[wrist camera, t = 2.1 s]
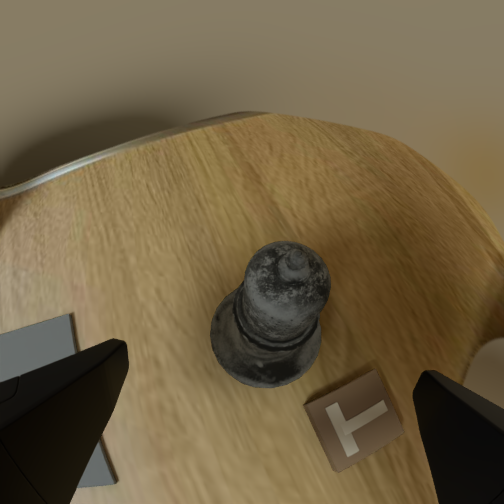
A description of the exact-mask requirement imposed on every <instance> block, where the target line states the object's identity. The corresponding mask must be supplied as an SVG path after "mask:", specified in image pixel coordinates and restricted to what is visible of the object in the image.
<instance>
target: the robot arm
mask: <svg viewBox="0 0 504 504" xmlns="http://www.w3.org/2000/svg"><path fill="white" fill-rule="evenodd" d="M128 369H129V360H128V350H127V344H126V342H125V341H123V340H119V339H114V338H113V339H110V340H107V341H105V342H102V343H100V344H98V345H95V346H93V347H90V348H88V349H85V350H83V351H80V352H78V353H75V354H73V355H70V356H68V357H65V358H63V359H60V360H58V361H55V362H52V363H50V364H47V365H45V366H42V367H40V368H37V369H34V370H32V371H29V372H27V373H24V374H21V375H20V376H16V377H13V378H11V379H8V380H5V381H2V382H0V504H70V502H71V500H72V498H73V495H74V493H75V491H76V489H77V486H78V484H79V482H80V480H81V478H82V475H83V473H84V471H85V469H86V467H87V465H88V462H89V460H90V458H91V456H92V454H93V452H94V450H95V448H96V446H97V444H98V442H99V439H100V437H101V435H102V433H103V431H104V429H105V427H106V425H107V423H108V421H109V419H110V417H111V415H112V413H113V411H114V408H115V405H116V403H117V400H118V397H119V394H120V392H121V389H122V386H123V383H124V381H125V378H126V375H127V373H128ZM413 401H414V406H415V411H416V415H417V420H418V425H419V430H420V435H421V438H422V442H423V445H424V449H425V452H426V456H427V459H428V463H429V466H430V470H431V474H432V478H433V482H434V486H435V490H436V494H437V498H438V502H439V504H504V409H502V408H501V407H499V406H497V405H496V404H494V403H492V402H490V401H488V400H487V399H485V398H483V397H481V396H480V395H478V394H476V393H474V392H472V391H471V390H469V389H467V388H465V387H464V386H462V385H460V384H458V383H457V382H455V381H453V380H451V379H450V378H448V377H446V376H444V375H443V374H441V373H439V372H437V371H435V370H426V371H424V372H423V373H422V374H421V376H420V378H419V380H418V382H417V384H416V386H415V388H414V390H413Z"/></svg>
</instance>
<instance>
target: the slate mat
mask: <svg viewBox="0 0 504 504" xmlns="http://www.w3.org/2000/svg"><path fill="white" fill-rule="evenodd" d="M75 353H77V348H76V342H75V337H74V330H73V324H72V317H71V315H70V314H66V315H63V316H60V317H57V318H53V319H50V320H47V321H44V322H41V323H37V324H34V325H31V326H28V327H24V328H21V329H18V330H14V331H11V332H8V333H5V334H1V335H0V382H2V381H5V380H8V379H11V378H13V377H16V376H20V375H21V374H24V373H27V372H29V371H32V370H34V369H37V368H40V367H42V366H45V365H47V364H50V363H52V362H55V361H58V360H60V359H63V358H65V357H68V356H70V355H73V354H75ZM113 484H116V480H115V478H114V475H113V473H112V470H111V468H110V465H109V463H108V460H107V457H106V455H105V452H104V449H103V446H102V443H101V440H100V439H99V442H98V444H97V446H96V448H95V450H94V452H93V454H92V456H91V458H90V460H89V462H88V465H87V467H86V469H85V471H84V473H83V475H82V478H81V480H80V482H79V484H78V486H77V488H82V487H94V486H104V485H113Z"/></svg>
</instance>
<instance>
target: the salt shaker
mask: <svg viewBox="0 0 504 504" xmlns="http://www.w3.org/2000/svg"><path fill="white" fill-rule="evenodd" d="M330 288H331V280H330V274H329V271H328V268H327V266H326V264H325V263H324V261H323V260H322V258H321V257H320V256H319V255H318V254H317V253H316V252H314V251H313V250H312V249H310V248H308V247H307V246H305V245H302V244H299V243H296V242H290V241H279V242H273V243H270V244H268V245H265V246H264V247H262V248H261V249H260V250H258V251H257V252H256V253H255V255H254V256H253V257H252V258H251V260H250V261H249V263H248V266H247V268H246V271H245V278H244V281H243V282H242V284H241V285H240V286H239V288H237V289H236V290H234V291H233V292H232V293H230V294H229V295H228V296H226V297H225V298H224V300H223V301H222V302H221V304H220V305H219V306H218V307H217V309H216V312H215V314H214V317H213V319H212V322H211V331H210V338H211V344H212V349H213V352H214V354H215V356H216V358H217V360H218V362H219V364H220V365H221V366H222V367H223V368H224V369H225V370H226V372H227V373H228V374H229V375H231V376H232V377H233V378H235V379H236V380H238V381H239V382H241V383H243V384H246V385H249V386H252V387H259V388H274V387H279V386H283V385H287V384H289V383H291V382H293V381H295V380H296V379H298V378H300V377H301V376H302V375H303V374H304V373H305V372H306V371H307V370H308V369H310V367H311V366H312V364H313V362H314V361H315V359H316V357H317V356H318V352H319V348H320V345H321V327H320V323H319V319H320V312H321V310H322V309H323V308H324V306H325V304H326V302H327V301H328V297H329V293H330Z"/></svg>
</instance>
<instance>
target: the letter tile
mask: <svg viewBox="0 0 504 504" xmlns="http://www.w3.org/2000/svg"><path fill="white" fill-rule="evenodd" d="M303 406H304V408H305V411H306V413H307V415H308V417H309V419H310V422H311V424H312V426H313V428H314V430H315V432H316V435H317V437H318V439H319V441H320V443H321V445H322V447H323V450H324V452H325V454H326V456H327V458H328V460H329V462H330V465H331V467H332V469H333V470H334V471H336V472H338V473H339V472H341V471H343V470H344V469H346V468H348V467H350V466H352V465H354V464H355V463H357V462H359V461H361V460H362V459H364V458H366V457H367V456H369V455H371V454H372V453H374V452H376V451H377V450H379V449H380V448H382V447H383V446H385V445H387V444H388V443H390V442H391V441H393V440H394V439H396V438H397V437H398V436H400V435H401V434H403V433H404V430H403V427H402V425H401V423H400V421H399V418H398V416H397V414H396V412H395V409H394V407H393V405H392V403H391V400H390V398H389V396H388V394H387V392H386V389H385V387H384V385H383V383H382V381H381V379H380V377H379V374H378V372H377V370H376V369H374V370H371V371H368V372H367V373H365V374H363V375H361V376H360V377H358V378H356V379H354V380H352V381H350V382H348V383H347V384H345V385H343V386H341V387H339V388H337V389H335V390H333V391H331V392H329V393H327V394H325V395H323V396H321V397H319V398H317V399H315V400H313V401H311V402H308V403H306V404H304V405H303Z"/></svg>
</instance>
